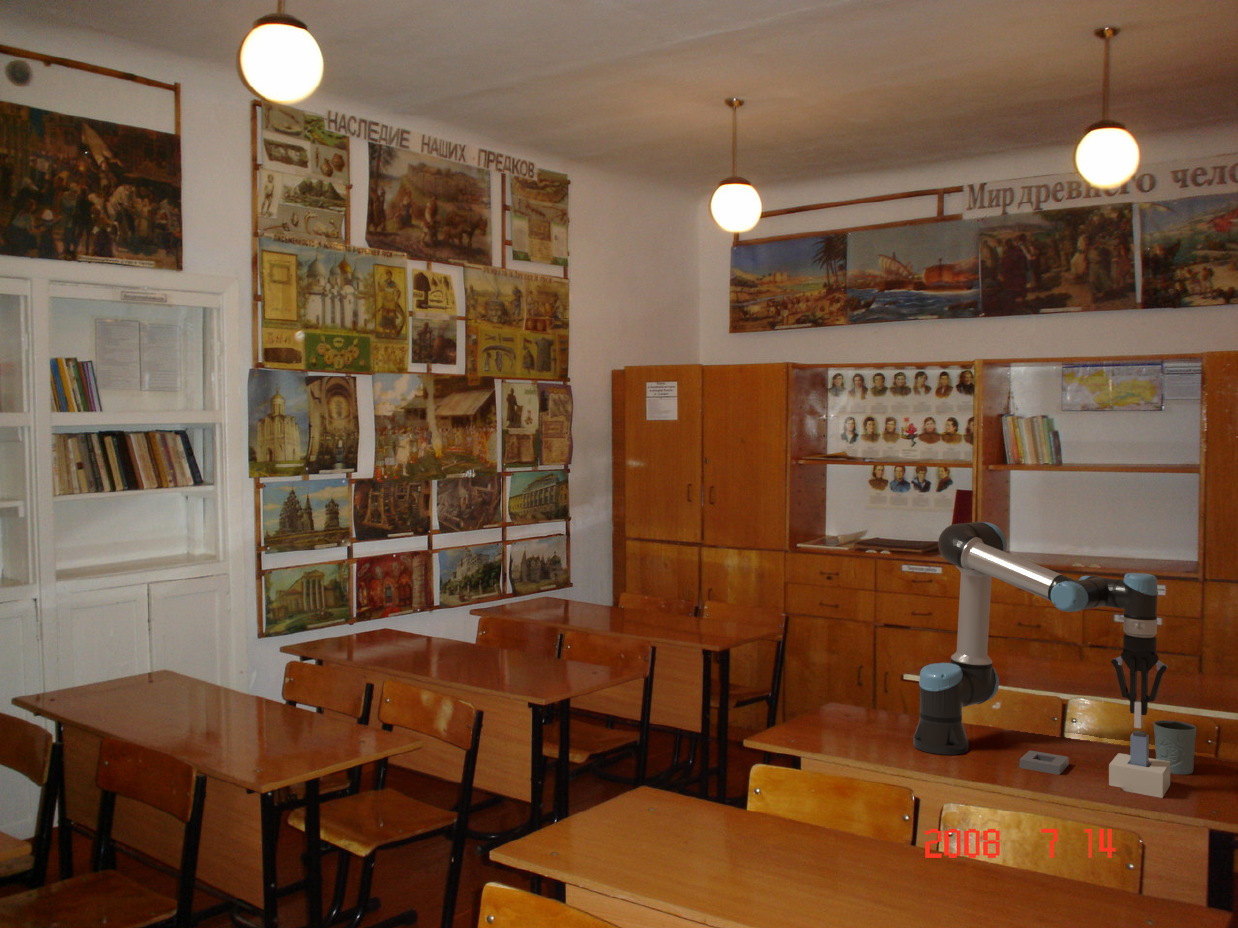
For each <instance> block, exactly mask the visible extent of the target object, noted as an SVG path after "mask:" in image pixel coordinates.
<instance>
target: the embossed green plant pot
mask: <svg viewBox="0 0 1238 928" xmlns="http://www.w3.org/2000/svg"><path fill="white" fill-rule="evenodd" d="M1197 729H1198V728H1197V726H1195V725H1193V724H1190V723H1187V722H1183V721H1177V720H1166V719H1165V720H1156V721H1155V720H1154V721H1153V731H1154V747H1155V759H1158V760H1164V761H1170V774H1171V775H1172V774H1173V775H1182V776H1183V775H1191V774H1193V772H1194V763H1195V761H1194V759H1195V758H1194V757H1195V749H1196V748H1195V747H1196V746H1195V745H1196V738H1197V737H1196V736H1197Z"/></svg>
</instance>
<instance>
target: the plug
mask: <svg viewBox="0 0 1238 928" xmlns="http://www.w3.org/2000/svg"><path fill="white" fill-rule="evenodd" d="M1149 736H1150V735H1149V734H1147V731H1142V730H1138V729H1137V730H1134V731H1133V732H1132V733H1131V734H1130V737H1129V739H1130V741H1129V742H1130V747H1129V749H1130V751H1129V752H1130V753H1129V755H1130V764H1132V765H1137V766H1143V767H1149V758H1150V756H1149V753H1150V747H1149V745H1150V737H1149Z"/></svg>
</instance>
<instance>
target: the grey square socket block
mask: <svg viewBox="0 0 1238 928" xmlns="http://www.w3.org/2000/svg"><path fill="white" fill-rule="evenodd" d="M1069 760H1070V759H1069V756H1065V755H1059V754H1053V753H1047V752H1043V751H1036V750H1035V751H1034V750H1028V751H1027V752H1026V753H1025V754H1024V755H1023V756H1022V757H1020V758H1019V769H1024V770H1028V771H1029V770H1031V771H1036V772H1041V773H1045V774H1046V773H1048V774H1052V775H1061V774H1062V773H1063V772H1064V771H1065V769H1067V768H1068V767H1069V765H1070V764H1069V763H1070V762H1069Z"/></svg>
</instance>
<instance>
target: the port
mask: <svg viewBox="0 0 1238 928" xmlns="http://www.w3.org/2000/svg"><path fill="white" fill-rule="evenodd" d="M1108 786H1111V787H1116V788H1121V789H1120V791H1122V792H1123V791H1124V792H1127V793H1134V794H1138V795H1143V796H1144V795H1145V796H1147V797H1148V796H1149V797H1155V798H1160V799H1163V798H1164V796H1165V795H1166V793H1167V791H1168V789H1169V787H1170V786H1171V773H1170V761H1164V760H1158V759H1156V758H1151V757H1149V767H1143V766H1137V765H1132V764H1130V754H1127V753H1121V752H1119V753H1117V755H1115V756H1114V758H1113V759H1112V760H1111V762H1109V764H1108Z"/></svg>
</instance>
